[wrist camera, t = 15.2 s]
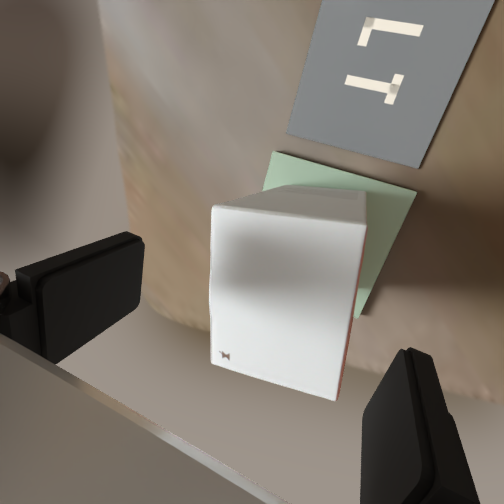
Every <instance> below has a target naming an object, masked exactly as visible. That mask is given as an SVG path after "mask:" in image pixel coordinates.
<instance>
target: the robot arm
mask: <svg viewBox="0 0 504 504" xmlns="http://www.w3.org/2000/svg"><path fill="white" fill-rule="evenodd" d="M144 249H145V244H144V243H143V241H142V238H141V237H140V236H137V235H135V234H132V233H130V232H127V231H126V232H122V233H119V234H116V235H114V236H111V237H108V238H105V239H102V240H99V241H96V242H94V243H91V244H88V245H85V246H82V247H79V248H76V249H73V250H70V251H68V252H65V253H62V254H59V255H56V256H53V257H50V258H47V259H45V260H42V261H39V262H36V263H33V264H30V265H28V266H25V267H22V268H19V269H16V270H15V273H16V280H15V281H12V282H10V278H9V276H8V275H7V274H6V273H4V272H1V271H0V504H290V503H288V502H287V501H285V500H284V499H282V498H280V497H279V496H277V495H276V494H274V493H272V492H270V491H269V490H267V489H265V488H264V487H262V486H260V485H259V484H257V483H255V482H254V481H252V480H250V479H249V478H247V477H245V476H243V475H242V474H240V473H239V472H237V471H235V470H234V469H232V468H230V467H228V466H227V465H225V464H223V463H222V462H220V461H218V460H217V459H215V458H213V457H212V456H210V455H208V454H207V453H205V452H203V451H202V450H200V449H198V448H196V447H195V446H193V445H191V444H190V443H188V442H186V441H185V440H183V439H181V438H180V437H178V436H176V435H175V434H173V433H171V432H169V431H168V430H166V429H164V428H163V427H161V426H159V425H158V424H156V423H154V422H152V421H151V420H149V419H147V418H146V417H144V416H142V415H141V414H139V413H137V412H135V411H134V410H132V409H130V408H129V407H127V406H125V405H123V404H122V403H120V402H118V401H117V400H115V399H113V398H111V397H110V396H108V395H106V394H105V393H103V392H101V391H100V390H98V389H96V388H94V387H93V386H91V385H89V384H88V383H86V382H84V381H82V380H81V379H79V378H77V377H76V376H74V375H72V374H70V373H69V372H67V371H65V370H63V369H62V368H60V367H58V366H57V365H55V364H57V363H59V362H60V361H61V360H63V359H64V358H66V357H67V356H69V355H70V354H72V353H73V352H74V351H76V350H77V349H79V348H80V347H82V346H83V345H84V344H86V343H87V342H89V341H90V340H92V339H93V338H95V337H96V336H97V335H99V334H100V333H102V332H103V331H105V330H106V329H107V328H109V327H110V326H112V325H113V324H115V323H116V322H118V321H119V320H120V319H122V318H123V317H125V316H126V315H128V314H129V313H131V312H132V311H133V310H135V309H136V308H137V307H138V305H139V303H140V295H141V284H142V272H143V261H144ZM360 504H480V501H479V498H478V495H477V492H476V489H475V485H474V482H473V479H472V476H471V472H470V469H469V466H468V463H467V459H466V456H465V453H464V450H463V447H462V444H461V440H460V437H459V434H458V430H457V427H456V424H455V421H454V419H453V417H452V415H451V414H450V413H448V410H447V406H446V403H445V399H444V396H443V393H442V389H441V386H440V383H439V379H438V376H437V372H436V369H435V366H434V362H433V359H432V357H431V356H430V355H428V354H426V353H423V352H421V351H418V350H416V349H413V348H411V347H410V348H408V349H407V350H403V349H400V350H399V352H398V353H397V355H396V357H395V358H394V360H393V362H392V363H391V365H390V367H389V369H388V370H387V372H386V374H385V375H384V377H383V379H382V381H381V382H380V384H379V386H378V387H377V389H376V391H375V393H374V394H373V396H372V398H371V399H370V401H369V403H368V405H367V406H366V408H365V410H364V413H363V419H362V452H361V489H360Z"/></svg>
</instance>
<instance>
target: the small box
mask: <svg viewBox="0 0 504 504" xmlns="http://www.w3.org/2000/svg"><path fill="white" fill-rule="evenodd" d="M367 231H368V225H367V208H366V192H365V191H359V190H346V189H334V188H322V187H310V186H298V185H283V186H280V187H276V188H272V189H269V190H266V191H263V192H259V193H256V194H252V195H249V196H245V197H242V198H238V199H235V200H232V201H227V202H224V203H219V204H215V205H214V206H213V207H212V211H211V261H210V283H209V307H210V326H211V363H212V364H214V365H218V366H221V367H224V368H227V369H230V370H233V371H236V372H239V373H242V374H245V375H248V376H252V377H255V378H258V379H262V380H265V381H268V382H272V383H275V384H278V385H282V386H285V387H289V388H292V389H296V390H299V391H302V392H305V393H309V394H312V395H316V396H320V397H323V398H327V399H329V400H332V401H337V400H338V397H339V393H340V388H341V381H342V377H343V371H344V366H345V360H346V355H347V350H348V344H349V338H350V333H351V327H352V321H353V315H354V309H355V303H356V297H357V291H358V285H359V279H360V273H361V268H362V263H363V257H364V250H365V244H366V237H367Z"/></svg>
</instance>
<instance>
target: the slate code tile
mask: <svg viewBox="0 0 504 504" xmlns="http://www.w3.org/2000/svg"><path fill="white" fill-rule="evenodd" d="M494 1H495V0H322V3H321V7H320V11H319V14H318V18H317V22H316V25H315V29H314V33H313V36H312V40H311V44H310V47H309V51H308V55H307V58H306V62H305V66H304V69H303V73H302V77H301V80H300V84H299V88H298V91H297V95H296V99H295V102H294V106H293V110H292V113H291V117H290V121H289V124H288V128H287V132H286V134H290V135H293V136H297V137H301V138H305V139H308V140H312V141H316V142H320V143H323V144H327V145H331V146H335V147H338V148H342V149H346V150H350V151H353V152H357V153H361V154H365V155H368V156H372V157H376V158H380V159H383V160H387V161H391V162H395V163H398V164H402V165H406V166H410V167H413V168H417V169H418V168H419V166H420V163H421V161H422V159H423V157H424V155H425V152H426V150H427V148H428V146H429V144H430V142H431V139H432V137H433V135H434V133H435V131H436V128H437V126H438V124H439V122H440V120H441V117H442V115H443V113H444V111H445V109H446V106H447V104H448V102H449V100H450V98H451V95H452V93H453V91H454V89H455V87H456V84H457V82H458V80H459V78H460V76H461V73H462V71H463V69H464V67H465V65H466V62H467V60H468V58H469V56H470V54H471V51H472V49H473V47H474V45H475V43H476V40H477V38H478V36H479V34H480V32H481V30H482V27H483V25H484V23H485V21H486V19H487V16H488V14H489V12H490V10H491V8H492V5H493V3H494Z"/></svg>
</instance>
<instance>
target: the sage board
mask: <svg viewBox="0 0 504 504" xmlns="http://www.w3.org/2000/svg"><path fill="white" fill-rule="evenodd" d="M283 185H298V186H310V187H322V188H334V189H346V190H359V191H365V192H366V208H367V225H368V231H367V237H366V244H365V250H364V257H363V263H362V268H361V273H360V279H359V285H358V291H357V297H356V303H355V309H354V315H353V317H355V318H357V319H358V317H359V315H360V313H361V311H362V309H363V307H364V305H365V303H366V300H367V298H368V296H369V294H370V292H371V290H372V288H373V285H374V283H375V281H376V279H377V277H378V275H379V273H380V270H381V268H382V266H383V264H384V262H385V260H386V258H387V256H388V253H389V251H390V249H391V247H392V245H393V243H394V241H395V238H396V236H397V234H398V232H399V230H400V228H401V226H402V224H403V221H404V219H405V217H406V215H407V213H408V211H409V209H410V206H411V204H412V202H413V200H414V198H415V196H416V194H417V192H416V191H413V190H409V189H406V188H402V187H399V186H395V185H392V184H388V183H385V182H381V181H378V180H374V179H371V178H367V177H364V176H360V175H357V174H353V173H350V172H346V171H343V170H339V169H336V168H332V167H329V166H325V165H322V164H318V163H315V162H311V161H308V160H304V159H301V158H297V157H294V156H290V155H287V154H283V153H280V152H276V151H273V152H272V156H271V160H270V164H269V168H268V171H267V175H266V179H265V183H264V187H263V190H262V192H263V191H266V190H269V189H272V188H276V187H280V186H283Z"/></svg>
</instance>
